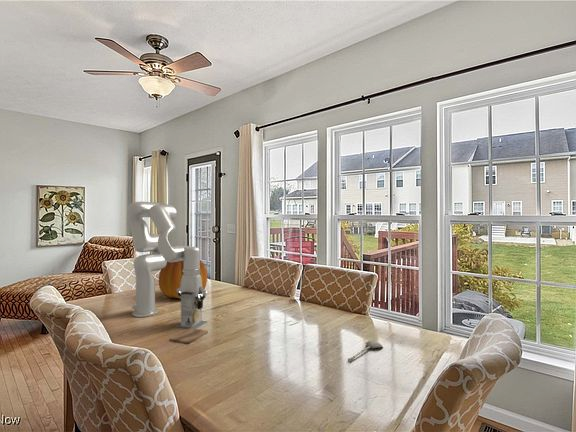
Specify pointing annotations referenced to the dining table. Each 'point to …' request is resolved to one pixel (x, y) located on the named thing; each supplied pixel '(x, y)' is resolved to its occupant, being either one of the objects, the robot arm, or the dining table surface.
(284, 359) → the dining table surface
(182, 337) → the walnut pad
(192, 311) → the coffee box
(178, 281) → the decorative pumpkin
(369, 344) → the soupspoon
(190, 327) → the color patch mat
